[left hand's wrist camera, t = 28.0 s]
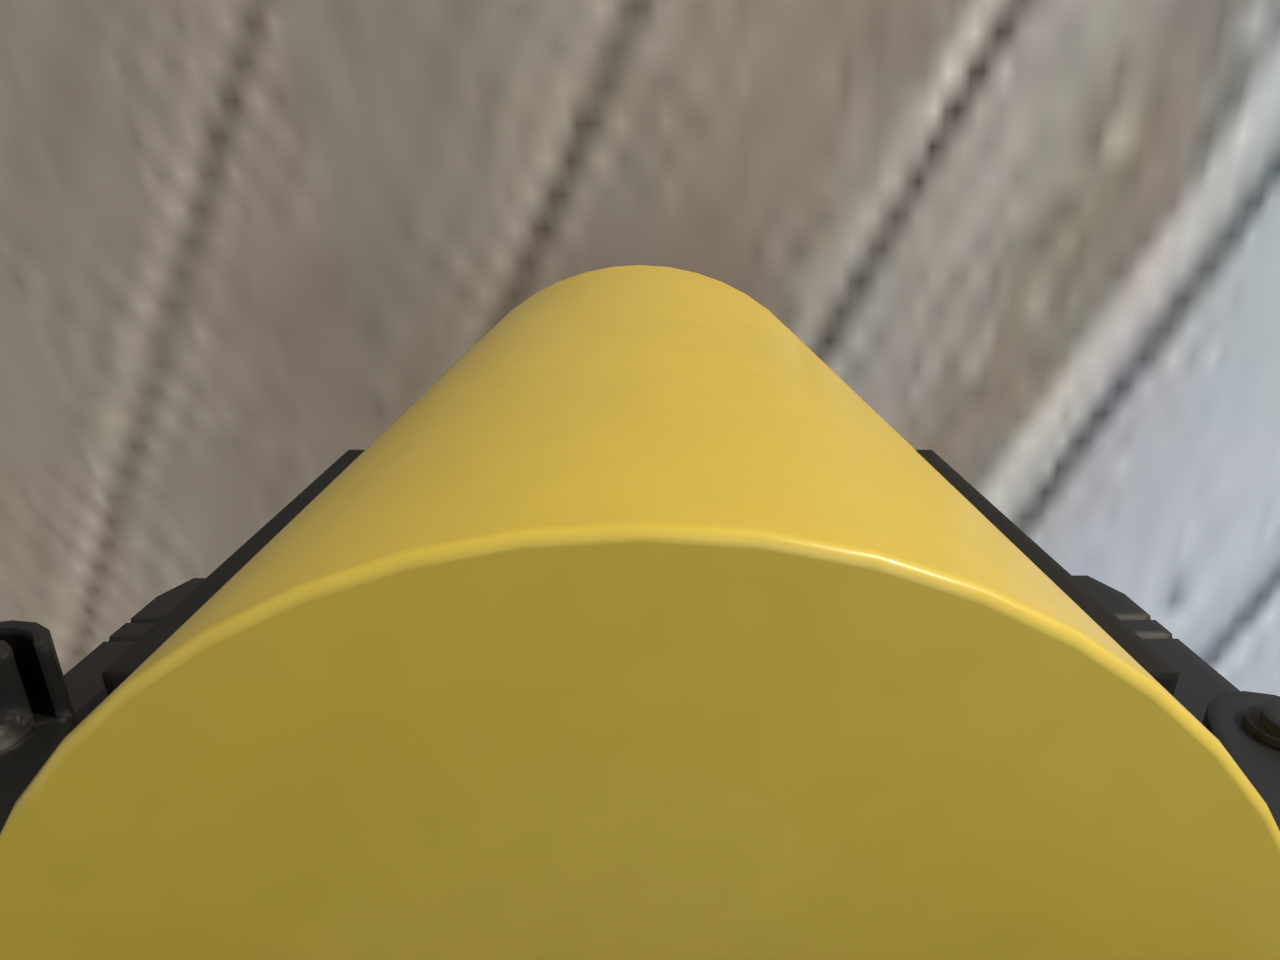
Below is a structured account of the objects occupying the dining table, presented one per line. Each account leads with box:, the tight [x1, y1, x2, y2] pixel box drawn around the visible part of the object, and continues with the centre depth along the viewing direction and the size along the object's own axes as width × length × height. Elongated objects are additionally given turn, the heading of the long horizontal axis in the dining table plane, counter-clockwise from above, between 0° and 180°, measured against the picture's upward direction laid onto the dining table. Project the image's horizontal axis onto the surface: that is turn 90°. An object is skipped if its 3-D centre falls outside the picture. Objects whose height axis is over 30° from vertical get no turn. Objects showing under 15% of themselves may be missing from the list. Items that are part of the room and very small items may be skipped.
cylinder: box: [0, 265, 1280, 960], centre depth 11 cm, size 8×8×13 cm
